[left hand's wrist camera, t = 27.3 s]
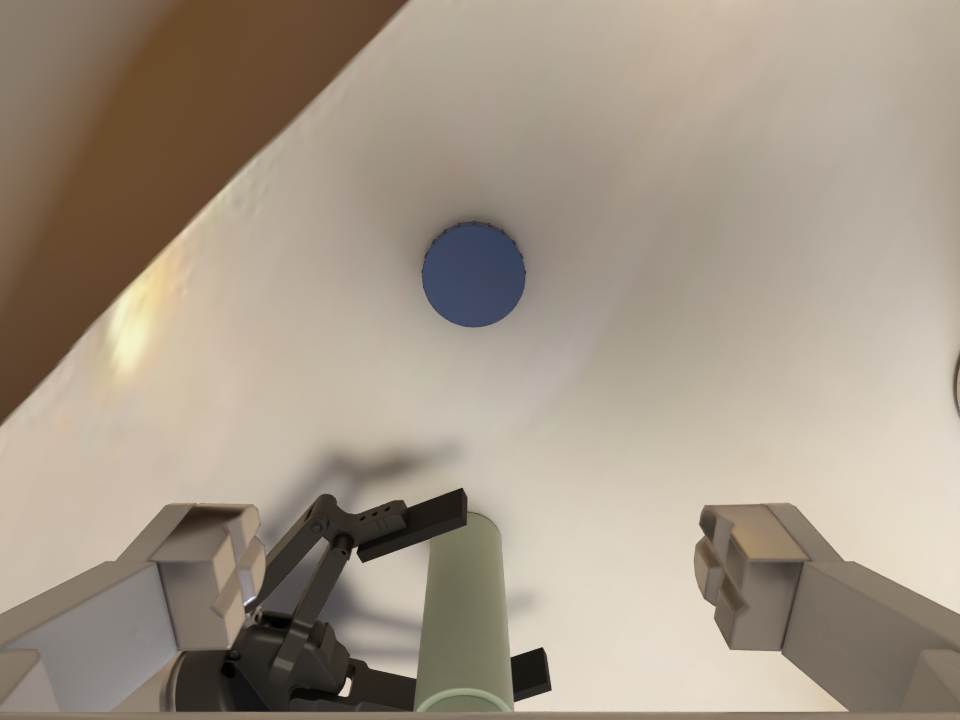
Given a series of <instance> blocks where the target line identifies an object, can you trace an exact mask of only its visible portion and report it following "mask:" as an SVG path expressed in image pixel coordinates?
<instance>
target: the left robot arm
mask: <svg viewBox="0 0 960 720" xmlns="http://www.w3.org/2000/svg"><path fill="white" fill-rule="evenodd" d="M957 400H958V406H959V410H960V367H959V371H958V377H957ZM260 525H261V522H260V517H259V512H258V509H257V508H256V507H255V506H254V505H253V504H210V503H200V504H197V503H172V504H169V505H166V506H165V507H164V508H163V509H162V510H161V511H160V512H159V513H158V514H157V515H156V516H155V518H154V519H153V520H152V521H151V522H150V523H149V524H148V525H147V526H146V528H145V529H144V530H143V531H142V532H141V533H140V534H139V535H138V536H137V538H136V539H135V540H134V541H133V542H132V543H131V544H130V545H129V546H128V548H127V549H126V550H125V551H124V552H123V553H122V554H121V555H120V556H119V558H118V559H117V560H116V561H111V562H104V563H102V564H100V565H98V566H96V567H94V568H92V569H90V570H88V571H86V572H84V573H82V574H80V575H78V576H76V577H74V578H72V579H70V580H68V581H66V582H64V583H62V584H60V585H58V586H56V587H54V588H52V589H50V590H48V591H46V592H44V593H42V594H40V595H38V596H36V597H34V598H32V599H30V600H28V601H26V602H24V603H22V604H20V605H18V606H16V607H14V608H12V609H10V610H8V611H6V612H4V613H2V614H0V720H960V614H958V613H956V612H954V611H952V610H950V609H948V608H946V607H944V606H942V605H940V604H938V603H936V602H934V601H932V600H930V599H928V598H926V597H924V596H922V595H920V594H918V593H916V592H914V591H912V590H910V589H908V588H906V587H904V586H902V585H900V584H898V583H896V582H894V581H892V580H890V579H888V578H886V577H884V576H882V575H880V574H878V573H876V572H874V571H872V570H870V569H868V568H866V567H864V566H862V565H860V564H858V563H856V562H849V561H844V560H843V559H842V558H841V556H840V555H839V554H838V553H837V552H836V551H835V550H834V549H833V548H832V546H831V545H830V544H829V543H828V542H827V541H826V540H825V539H824V538H823V536H822V535H821V534H820V533H819V532H818V531H817V530H816V529H815V528H814V526H813V525H812V524H811V523H810V522H809V521H808V520H807V519H806V518H805V516H804V515H803V514H802V513H801V512H800V511H799V510H798V509H797V508H796V506H794V505H792V504H790V503H767V504H748V505H705V506H704V508H703V510H702V512H701V516H700V522H699V525H700V527H701V529H702V530H703V532H704V534H705V536H704V537H703V538H702V539H701V540H700V541H699V542H698V543H697V544H696V547H695V555H694V568H695V577H696V580H697V584H698V587H699V589H700V591H701V593H702V595H703V598H704V599H705V600H707V601H708V602H710V603H711V604H712V605H714V606H715V607H716V609H715V615H714V620H715V622H716V623H717V625H718V627H719V629H720V631H721V633H722V635H723V637H724V639H725V641H726V643H727V645H728V647H729V649H730V650H755V651H782V653H781V654H782V655H784V656H785V657H786V658H787V659H788V660H789V661H791V662H792V663H793V664H794V665H795V666H797V667H798V668H799V669H800V670H801V671H803V672H804V673H805V674H806V675H807V676H808V677H810V678H811V679H812V680H813V681H814V682H816V683H817V684H818V685H819V686H820V687H822V688H823V689H824V690H825V691H826V692H827V693H829V694H830V695H831V696H832V697H833V698H835V699H836V700H837V701H838V702H839V703H841V704H842V705H843V706H844V707H845V708H846V709H848V710H849V711H850V712H110V711H111V710H113V709H114V708H115V707H116V706H117V705H118V704H120V703H121V702H122V701H123V700H124V699H126V698H127V697H128V696H129V695H130V694H132V693H133V692H134V691H135V690H136V689H137V688H139V687H140V686H141V685H142V684H143V683H145V682H146V681H147V680H148V679H149V678H151V677H152V676H153V675H154V674H155V673H157V672H158V671H159V670H160V669H161V668H162V667H164V666H165V665H166V664H167V663H168V662H170V661H171V660H172V659H173V658H174V657H176V656H177V655H178V651H204V650H230V649H231V647H232V645H233V643H234V641H235V639H236V637H237V635H238V633H239V631H240V629H241V627H242V625H243V623H244V622H245V620H246V615H245V609H244V607H245V606H246V605H248V604H249V603H250V602H252V601H253V600H255V599H256V598H257V595H258V593H259V591H260V589H261V587H262V584H263V579H264V575H265V571H266V553H265V546H264V544H263V543H262V542H261V541H260V540H259V539H258V538H257V537H256V536H255V534H256V532H257V530H258V529H259V527H260Z"/></svg>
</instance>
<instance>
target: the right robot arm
mask: <svg viewBox="0 0 960 720" xmlns="http://www.w3.org/2000/svg"><path fill="white" fill-rule="evenodd" d="M466 525H467V496H466V494H465V492H464V490H463V488H460V489H457V490H455V491H452V492H449V493H447V494H444V495H441V496H439V497H436V498H433V499H430V500H428V501H425V502H422V503H420V504H417V505H414V506H412V507H409V508H407V506H406V504H405V502H404V501H403V500H394V501H391V502H389V503H386V504H383V505H381V506H379V507H375V508H373V509H370V510H367V511H365V512H362V513H359V514H348V513H346V512H344V511H343V510H342V509H340V508H339V507H338V506H337V501H336V498H335V497H334V496H332V495H330V494H323V495H321V496H319V497H318V498H317V499H316V501H315V502H314V503H313V504H312V505H311V506H310V507H309V508H308V510H307V511H306V512H305V513H304V514H303V515H302V516H301V517H300V519H299V520H298V521H297V522H296V523H295V524H294V525H293V527H292V528H291V529H290V530H289V531H288V532H287V533H286V534H285V536H284V537H283V538H282V539H281V540H280V541H279V542H278V543H277V545H276V546H275V547H274V548H273V549H272V550H271V551H270V553H269V554H268V555H267V556H266V571H265V575H264V579H263V584H262V587H261V589H260V591H259V593H258V595H257V598H256V599H255V600H253V601H252V602H250V603H249V604H248V605H246V606H245V607H244V609H245V615H246V620H245V622H244V623H243V625H242V627H241V629H240V631H239V633H238V635H237V637H236V639H235V641H234V643H233V645H232V647H231V649H230V650H204V651H178V655H177V656H176V657H174V658H173V659H172V660H171V661H170V662H168V663H167V664H166V665H165V666H164V667H162V668H161V669H160V670H159V671H158V672H157V673H155V674H154V675H153V676H152V677H151V678H149V679H148V680H147V681H146V682H145V683H143V684H142V685H141V686H140V687H139V688H137V689H136V690H135V691H134V692H133V693H132V694H130V695H129V696H128V697H127V698H126V699H124V700H123V701H122V702H121V703H120V704H118V705H117V706H116V707H115V708H114V709H113V710H111V711H110V712H413V709H414V699H415V690H416V680H417V679H414V678H409V677H405V676H400V675H396V674H391V673H387V672H382V671H377V670H373V669H370V668H368V666H367V664H366V663H365V662H364V661H362V660H357V659H352V658H350V654H349V653H348V651H347V650H346V648H345V647H344V646H343V645H342V644H341V643H340V642H338V641H337V640H336V637H335V633H334V630H333V629H332V627H331V626H330V624H329V623H328V622H327V623H323V622H321V621H319V620H317V617H318V615H319V614H320V612H321V610H322V608H323V606H324V604H325V602H326V600H327V598H328V596H329V594H330V592H331V590H332V589H333V587H334V585H335V583H336V581H337V579H338V577H339V575H340V573H341V571H342V569H343V567H344V565H345V564H346V562H347V560H349V559H350V556H351V552H352V549H353V548H355V547H358V550H357V555H358V557H359V558H360V560H361V561H362V563H364V562H367V561H370V560H372V559H375V558H378V557H381V556H383V555H386V554H389V553H392V552H394V551H397V550H400V549H403V548H405V547H408V546H411V545H414V544H416V543H419V542H422V541H425V540H427V539H430V538H433V537H436V536H438V535H441V534H444V533H447V532H449V531H452V530H455V529H458V528H460V527H463V526H466ZM322 536H323V537H324V538H325V539H326V540H328V541H329V544H328V546H327V548H326V550H325V552H324V554H323V556H322V558H321V560H320V562H319V564H318V566H317V568H316V570H315V572H314V574H313V576H312V578H311V580H310V582H309V584H308V586H307V588H306V590H304V592H303V594H302V596H301V598H300V600H299V602H298V604H297V606H296V608H295V610H294V612H293V614H292V615H290V614H284V613H278V612H272V611H262V612H261V611H260V610H261V608H262V606H263V604H264V602H265V600H266V598H267V597H268V595H269V594H270V593H271V592H272V591H273V590H274V589H275V588H276V587H277V586H278V584H279V583H280V582H281V581H282V580H283V579H284V578H285V577H286V576H287V575H288V574H289V572H290V571H291V570H292V569H293V568H294V567H295V566H296V565H297V564H298V563H299V561H300V560H301V559H302V558H303V557H304V556H305V555H306V554H307V553H308V552H309V550H310V549H311V548H312V547H313V546H314V545H315V544H316V543H317V542H318V541H319V540H320V538H321V537H322ZM510 660H511V673H512V686H513V699H514V702H517V701H520V700H523V699H526V698H529V697H532V696H535V695H539V694H542V693H545V692H548V691H551V690H552V689H551V682H550V675H549V668H548V662H547V655H546V653H545V651H544V649H543V647H541V648H538V649H535V650H532V651H529V652H526V653H523V654H520V655H517V656H514V657H511V658H510ZM347 677H348V678H350V679H351V681H352V683H351V687H350V692H349V696H348V697H342V696H338V694H339V693H340V692H341V690H342V689H343V687H344V685H345V682H346V678H347Z"/></svg>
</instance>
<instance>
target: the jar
mask: <svg viewBox="0 0 960 720" xmlns="http://www.w3.org/2000/svg"><path fill="white" fill-rule="evenodd" d="M413 712H514V699H513V686H512V673H511V660H510V647H509V634H508V621H507V608H506V595H505V582H504V569H503V556H502V543H501V536H500V533H499V530H498V529H497V527H496V526H495V525H494V523H492V522H491V521H490V520H489V519H487V518H486V517H484V516H481V515H479V514H475V513H467V525H466V526H463V527H460V528H458V529H455V530H452V531H449V532H447V533H444V534H441V535H438V536H436V537H433V538H432V539H431V547H430V557H429V566H428V576H427V585H426V595H425V604H424V614H423V623H422V633H421V642H420V652H419V661H418V671H417V680H416V690H415V699H414V709H413Z"/></svg>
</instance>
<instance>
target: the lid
mask: <svg viewBox="0 0 960 720" xmlns="http://www.w3.org/2000/svg"><path fill="white" fill-rule="evenodd" d="M424 258H426V259H425V262H424V266H423V269H422V279H423V288H424V291H425V294H426V296H427V298H428V300H429V302H430V304H431V305H432V307H433V308H434V309H435V310H436V311H437V312H438V313H439V314H440V315H441V316H442V317H444V318H445V319H447V320H448V321H450V322H452V323H455V324H457V325H461V326H465V327H482V326H487V325H491V324H493V323H495V322H498V321H499V320H501V319H503V318H504V317H505V316H507V315H508V314H509V313H510V312H511V311H512V310H513V309H514V307H515V306H516V305H517V303H518V302H519V300H520V298H521V295H522V293H523V289H524V285H525V274H526V271H525V268H524V263H523V260H522V259H523V256H522V254H521V253H519V251H518V249H517V247H516V243H515V241H514V240H513V241H512V240H511V238H510V237H509V236H508V235H507V234H505V232H504V230H502V231H501V230H500V229H498V228H496V227H494V226H492V225H490V223H488V224H486V223H481V222H475V221H473V222H467V223H461V224H460V223H458V225H455V226H453V227H451V228H449V229H448V230H446V229H445V230H444V232H443V233H442V234H441V235H440V236H439V237H438V238H437V239H436V240H435V239H434V240H433V242H432V246H431V248H430V250H429V252H428V253H426V255H425V257H424Z"/></svg>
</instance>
